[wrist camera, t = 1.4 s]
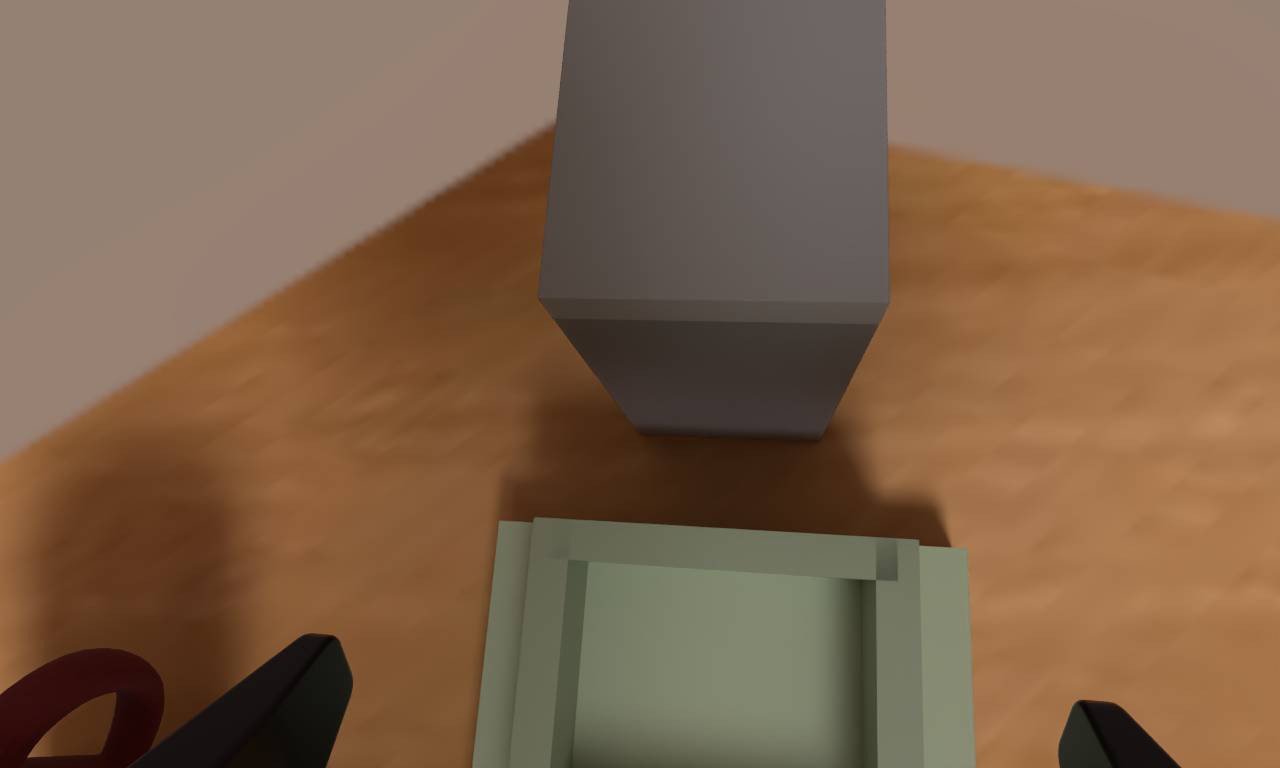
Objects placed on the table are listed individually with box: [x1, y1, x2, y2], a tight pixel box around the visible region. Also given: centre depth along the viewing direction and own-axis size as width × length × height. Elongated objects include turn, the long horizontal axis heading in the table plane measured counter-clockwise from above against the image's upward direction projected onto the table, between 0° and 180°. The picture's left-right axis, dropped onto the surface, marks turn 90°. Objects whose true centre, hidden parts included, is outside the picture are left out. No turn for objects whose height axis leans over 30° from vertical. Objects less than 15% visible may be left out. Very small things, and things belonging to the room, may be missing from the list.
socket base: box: [472, 517, 976, 768], centre depth 19 cm, size 10×13×4 cm
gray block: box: [538, 0, 890, 442], centre depth 18 cm, size 6×6×12 cm
